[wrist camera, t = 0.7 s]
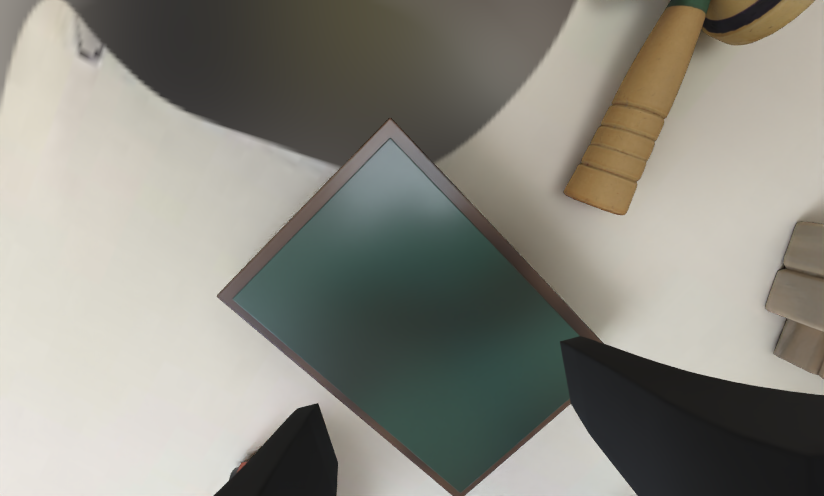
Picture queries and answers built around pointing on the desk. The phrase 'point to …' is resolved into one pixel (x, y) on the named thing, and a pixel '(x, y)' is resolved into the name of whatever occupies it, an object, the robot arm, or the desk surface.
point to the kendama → (663, 90)
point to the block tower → (801, 299)
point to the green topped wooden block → (413, 313)
